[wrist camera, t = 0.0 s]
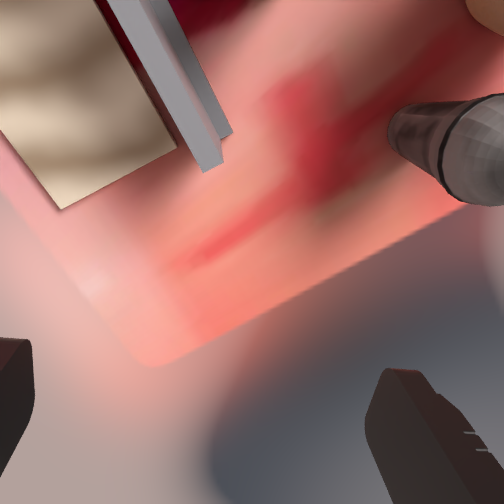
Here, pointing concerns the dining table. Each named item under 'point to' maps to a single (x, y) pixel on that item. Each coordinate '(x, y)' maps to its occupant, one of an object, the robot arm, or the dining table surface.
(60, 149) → the board
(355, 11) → the dining table surface
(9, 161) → the dining table surface
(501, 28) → the plant pot
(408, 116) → the beverage cup
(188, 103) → the screen
